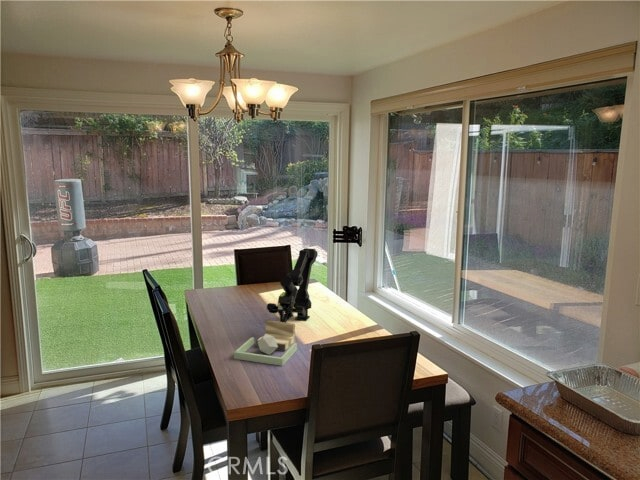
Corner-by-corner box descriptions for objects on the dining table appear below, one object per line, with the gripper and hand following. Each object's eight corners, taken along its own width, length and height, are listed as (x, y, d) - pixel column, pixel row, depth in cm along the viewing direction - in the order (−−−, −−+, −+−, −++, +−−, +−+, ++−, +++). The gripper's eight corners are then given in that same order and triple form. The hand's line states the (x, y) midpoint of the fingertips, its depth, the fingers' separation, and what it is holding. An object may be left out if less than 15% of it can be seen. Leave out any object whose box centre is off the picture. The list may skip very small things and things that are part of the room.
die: (281, 353, 211) (278, 333, 215) (273, 351, 203) (270, 329, 207) (265, 358, 213) (262, 337, 217) (256, 356, 205) (253, 334, 209)
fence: (251, 343, 221) (251, 337, 220) (297, 349, 214) (297, 343, 214) (234, 358, 204) (233, 352, 204) (282, 365, 198) (282, 358, 197)
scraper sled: (268, 336, 228) (268, 320, 227) (295, 340, 224) (295, 323, 222) (256, 347, 217) (256, 329, 215) (284, 351, 212) (284, 333, 211)
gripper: (267, 287, 230) (258, 316, 222) (303, 290, 225) (295, 320, 216) (274, 298, 239) (265, 326, 230) (309, 301, 233) (301, 330, 225)
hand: (281, 325), depth 225 cm, fingers closed, pressing on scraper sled
